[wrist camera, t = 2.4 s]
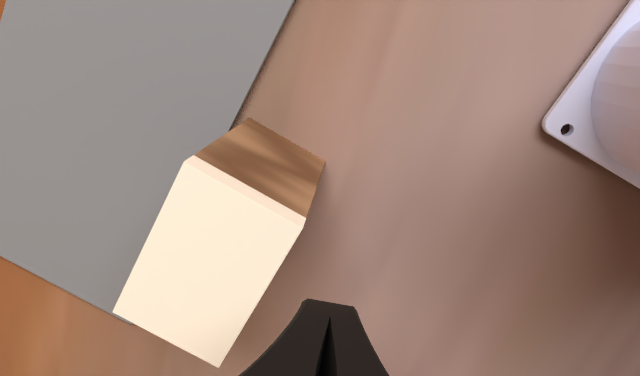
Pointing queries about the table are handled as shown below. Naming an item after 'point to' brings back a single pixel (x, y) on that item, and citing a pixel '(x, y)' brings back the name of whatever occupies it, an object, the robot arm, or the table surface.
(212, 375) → the table surface
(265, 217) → the brown and cream block
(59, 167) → the mat
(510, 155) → the table surface
